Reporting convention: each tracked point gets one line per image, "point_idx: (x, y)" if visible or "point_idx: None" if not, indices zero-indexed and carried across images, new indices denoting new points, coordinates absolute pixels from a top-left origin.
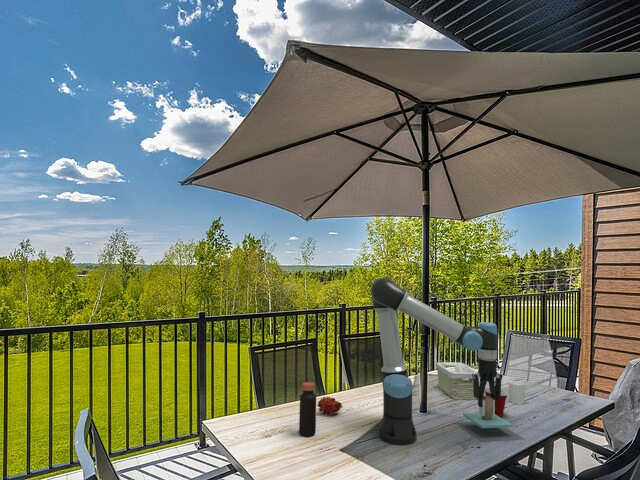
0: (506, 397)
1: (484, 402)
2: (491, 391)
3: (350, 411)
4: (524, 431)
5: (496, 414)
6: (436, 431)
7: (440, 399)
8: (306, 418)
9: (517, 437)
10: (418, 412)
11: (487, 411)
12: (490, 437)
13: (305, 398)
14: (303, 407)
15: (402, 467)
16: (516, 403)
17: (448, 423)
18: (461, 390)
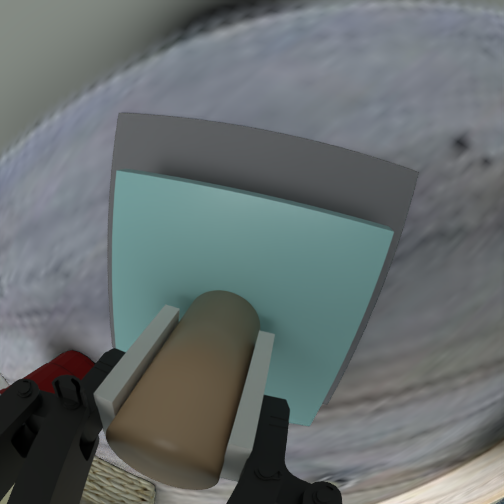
0: (3, 389)
1: (238, 422)
2: (73, 484)
3: (489, 478)
4: (56, 209)
5: (82, 368)
6: (470, 359)
7: (194, 498)
8: None
9: (139, 143)
10: (356, 480)
11: (230, 341)
12: (305, 198)
13: None
14: None
15: None
16: (1, 377)
17: (349, 409)
18: (119, 493)
